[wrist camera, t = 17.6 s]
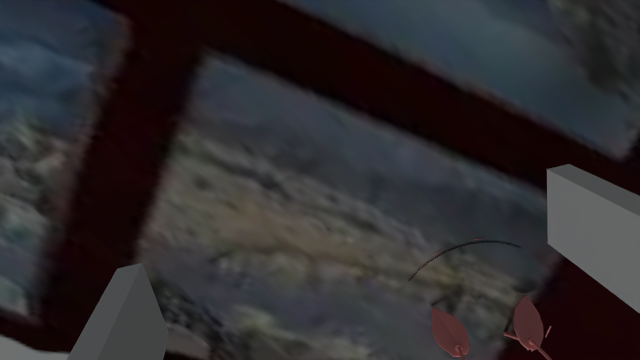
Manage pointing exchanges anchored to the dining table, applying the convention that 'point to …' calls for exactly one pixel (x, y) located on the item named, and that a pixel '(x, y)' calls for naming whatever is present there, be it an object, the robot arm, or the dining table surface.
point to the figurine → (525, 325)
